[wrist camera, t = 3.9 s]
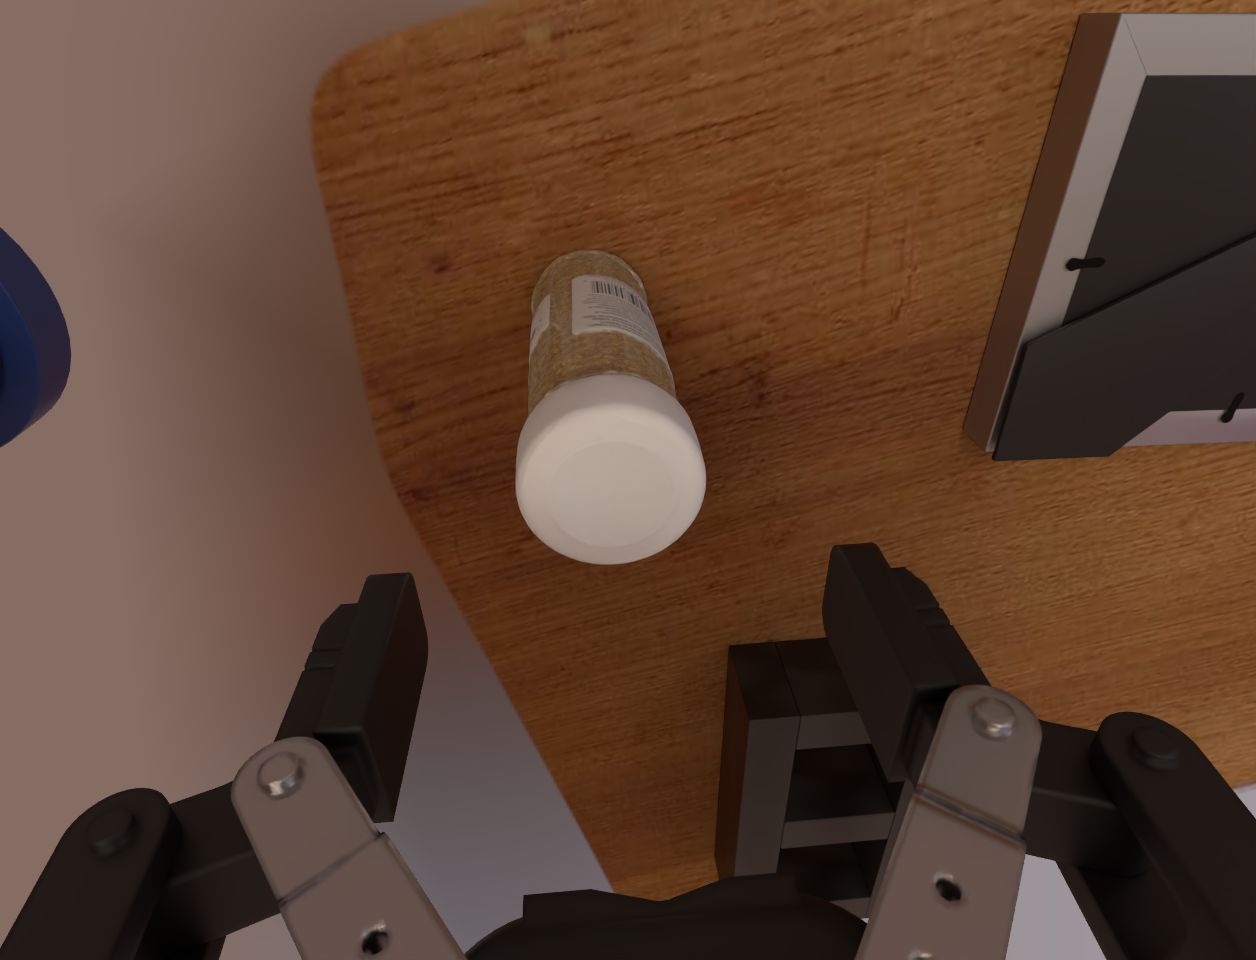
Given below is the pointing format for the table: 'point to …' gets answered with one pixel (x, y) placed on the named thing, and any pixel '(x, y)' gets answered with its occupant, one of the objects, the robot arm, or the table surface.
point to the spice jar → (603, 419)
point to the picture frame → (1133, 250)
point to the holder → (803, 777)
